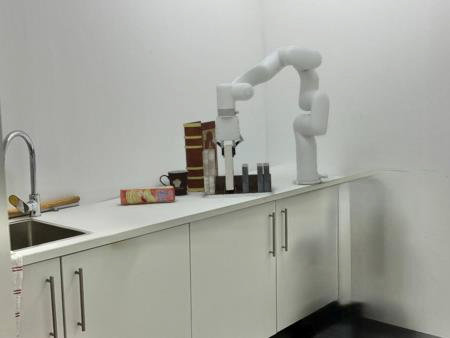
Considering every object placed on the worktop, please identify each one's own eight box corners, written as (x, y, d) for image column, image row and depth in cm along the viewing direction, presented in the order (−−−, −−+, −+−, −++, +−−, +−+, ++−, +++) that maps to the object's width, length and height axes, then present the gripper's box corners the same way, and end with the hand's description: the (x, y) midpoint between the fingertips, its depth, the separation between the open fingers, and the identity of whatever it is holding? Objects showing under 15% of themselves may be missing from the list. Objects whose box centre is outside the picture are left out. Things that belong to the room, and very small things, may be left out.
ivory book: (234, 186, 269) (232, 144, 267) (233, 189, 258) (231, 146, 256) (227, 186, 268) (225, 144, 266) (226, 190, 258) (224, 146, 255)
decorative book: (202, 191, 272) (198, 123, 268) (185, 191, 274) (181, 123, 270) (219, 183, 294) (215, 120, 290) (203, 183, 296) (199, 120, 292)
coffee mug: (193, 193, 269) (192, 170, 268) (181, 196, 261) (180, 173, 260) (171, 192, 274) (170, 169, 272) (159, 195, 266) (157, 172, 265)
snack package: (175, 199, 254) (174, 183, 253) (174, 202, 248) (173, 185, 247) (122, 203, 251) (120, 186, 250) (119, 206, 244) (118, 189, 244)
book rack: (271, 189, 272) (269, 146, 270) (272, 194, 258) (270, 149, 256) (207, 192, 270) (204, 148, 268) (204, 197, 256) (202, 152, 254)
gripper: (246, 112, 263) (248, 155, 266) (207, 113, 262) (209, 157, 265) (246, 113, 256) (248, 157, 258) (206, 114, 255) (208, 159, 257)
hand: (228, 156), depth 261 cm, fingers closed on ivory book, 3 cm apart
